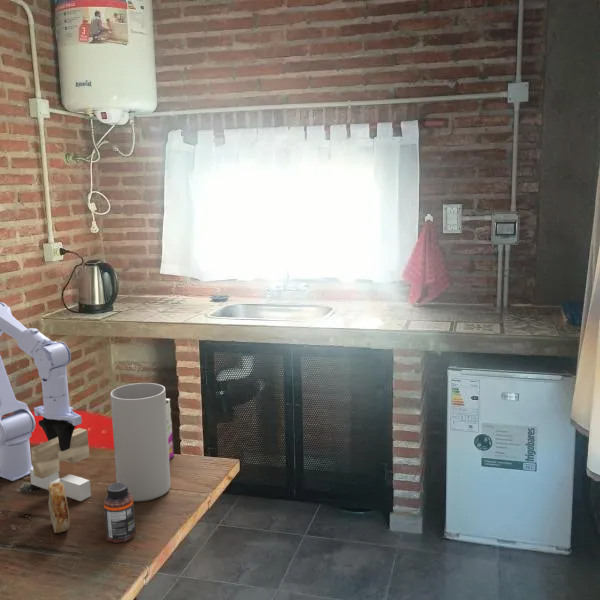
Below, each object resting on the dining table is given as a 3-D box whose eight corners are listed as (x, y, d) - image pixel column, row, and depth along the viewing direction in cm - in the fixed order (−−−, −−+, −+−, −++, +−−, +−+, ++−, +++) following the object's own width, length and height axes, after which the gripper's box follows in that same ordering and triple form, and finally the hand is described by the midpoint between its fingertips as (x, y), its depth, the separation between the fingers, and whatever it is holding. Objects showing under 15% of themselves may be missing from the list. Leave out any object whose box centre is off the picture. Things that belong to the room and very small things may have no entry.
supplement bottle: (111, 529, 143) (107, 479, 141) (138, 529, 143) (135, 479, 141) (102, 544, 137) (98, 493, 135) (131, 544, 137) (127, 492, 135)
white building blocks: (31, 484, 165) (29, 469, 165) (41, 479, 168) (40, 464, 167) (80, 501, 156) (79, 485, 155) (90, 496, 158) (89, 480, 158)
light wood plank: (34, 476, 157) (31, 448, 155) (81, 454, 168) (78, 427, 167) (42, 478, 155) (39, 450, 154) (89, 456, 167) (87, 430, 166)
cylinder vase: (116, 483, 165) (109, 386, 160) (167, 475, 169) (162, 380, 164) (119, 506, 153) (111, 402, 149) (173, 497, 157) (168, 395, 152)
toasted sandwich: (72, 537, 140) (69, 493, 138) (54, 541, 139) (50, 496, 137) (67, 515, 149) (63, 473, 148) (49, 519, 148) (45, 477, 146)
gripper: (90, 393, 158) (94, 448, 160) (49, 385, 165) (53, 437, 168) (65, 402, 152) (70, 458, 155) (24, 393, 160) (29, 446, 162)
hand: (60, 448), depth 161 cm, fingers closed on light wood plank, 3 cm apart
